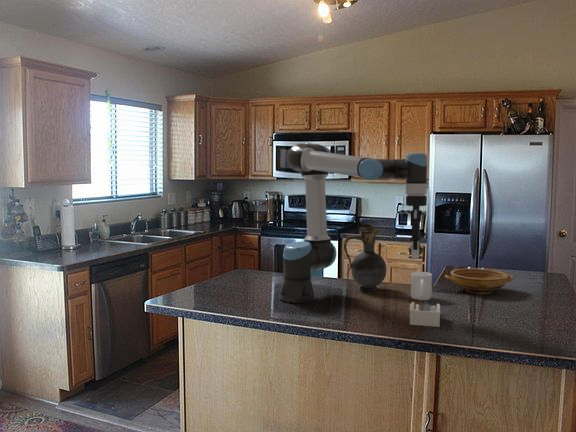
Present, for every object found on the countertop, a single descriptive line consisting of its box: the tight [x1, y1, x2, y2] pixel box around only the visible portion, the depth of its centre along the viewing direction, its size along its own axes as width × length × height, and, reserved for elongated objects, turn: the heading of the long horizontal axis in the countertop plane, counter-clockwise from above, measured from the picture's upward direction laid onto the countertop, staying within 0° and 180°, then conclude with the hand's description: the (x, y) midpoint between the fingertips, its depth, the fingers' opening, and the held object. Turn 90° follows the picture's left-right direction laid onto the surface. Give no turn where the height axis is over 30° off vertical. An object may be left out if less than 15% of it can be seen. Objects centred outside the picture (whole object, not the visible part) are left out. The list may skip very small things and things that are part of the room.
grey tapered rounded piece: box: [407, 229, 425, 260], centre depth 195 cm, size 6×6×12 cm
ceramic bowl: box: [444, 267, 515, 295], centre depth 231 cm, size 30×24×8 cm
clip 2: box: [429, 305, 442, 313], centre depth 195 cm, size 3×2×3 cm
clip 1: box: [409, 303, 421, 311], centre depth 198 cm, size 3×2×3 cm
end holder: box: [409, 301, 441, 328], centre depth 186 cm, size 10×12×5 cm
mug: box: [410, 271, 433, 301], centre depth 217 cm, size 12×8×10 cm
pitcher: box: [343, 223, 388, 292], centre depth 233 cm, size 11×19×30 cm, turn 89°
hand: (415, 256), depth 196 cm, fingers closed on grey tapered rounded piece, 6 cm apart
